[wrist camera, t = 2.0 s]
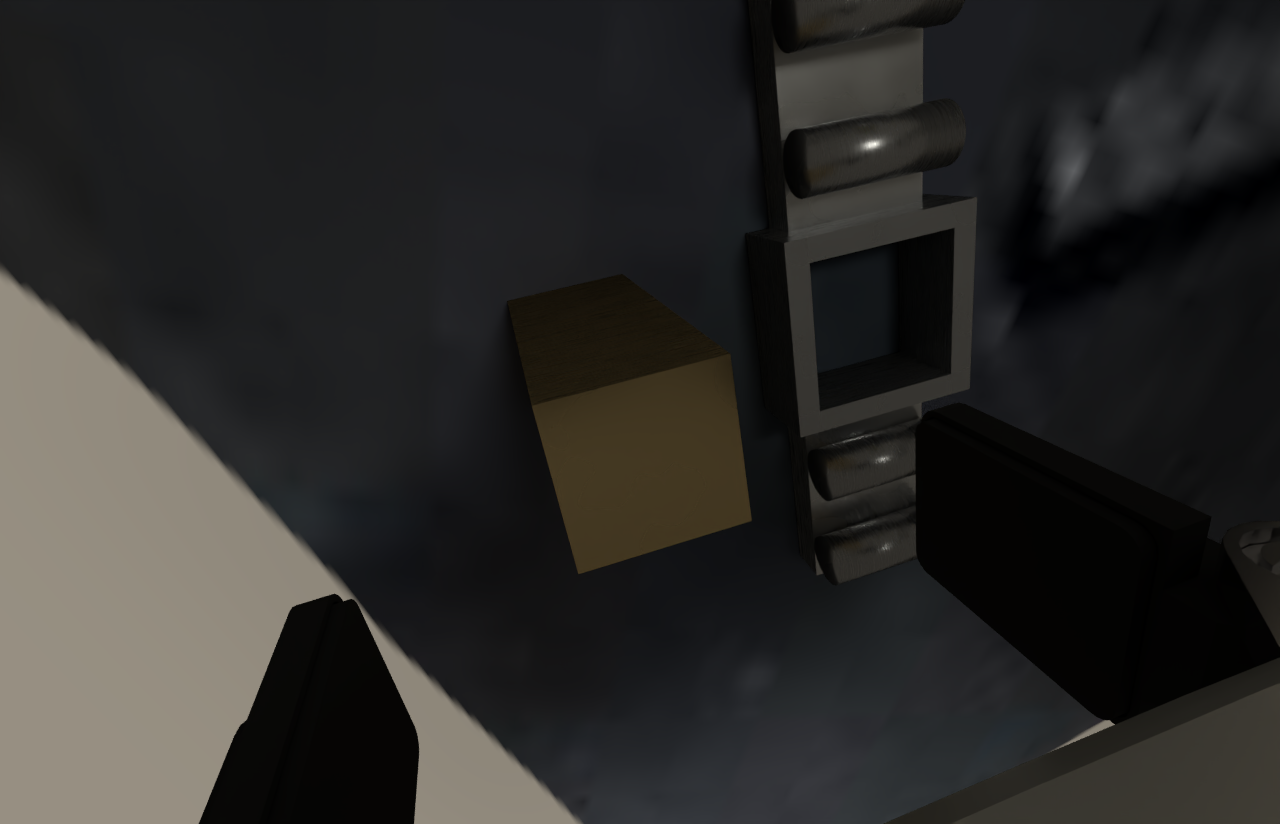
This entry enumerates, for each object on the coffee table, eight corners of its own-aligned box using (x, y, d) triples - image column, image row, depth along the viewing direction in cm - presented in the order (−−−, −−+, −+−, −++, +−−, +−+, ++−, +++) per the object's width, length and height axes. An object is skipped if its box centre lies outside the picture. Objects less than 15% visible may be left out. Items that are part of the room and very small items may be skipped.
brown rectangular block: (622, 273, 21) (730, 353, 12) (642, 380, 23) (751, 520, 14) (507, 301, 21) (531, 405, 12) (536, 408, 22) (578, 574, 13)
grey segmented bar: (917, -55, 20) (1002, -98, 17) (917, 517, 29) (971, 561, 25) (717, -22, 19) (767, -61, 16) (781, 561, 28) (821, 612, 24)
